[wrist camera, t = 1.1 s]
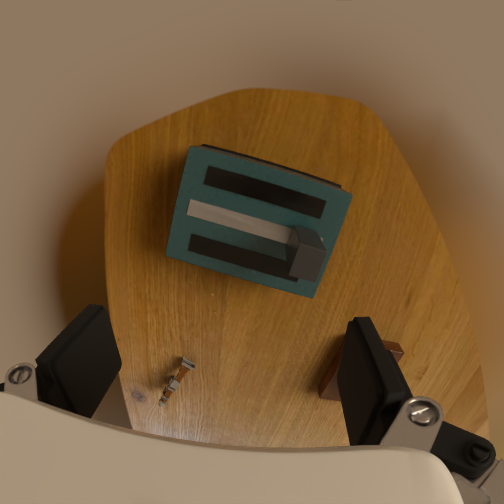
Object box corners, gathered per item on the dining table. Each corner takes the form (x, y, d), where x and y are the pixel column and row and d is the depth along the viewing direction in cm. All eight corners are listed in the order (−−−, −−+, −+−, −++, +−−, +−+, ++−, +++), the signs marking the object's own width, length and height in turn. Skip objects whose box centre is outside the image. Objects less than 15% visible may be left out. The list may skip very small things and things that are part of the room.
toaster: (203, 143, 28) (187, 142, 23) (340, 184, 29) (356, 193, 23) (180, 238, 32) (162, 257, 26) (307, 275, 32) (314, 302, 27)
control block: (348, 332, 35) (355, 352, 31) (398, 343, 35) (408, 361, 31) (317, 387, 38) (320, 407, 34) (365, 394, 38) (371, 413, 35)
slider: (294, 224, 24) (299, 243, 19) (317, 231, 24) (327, 251, 19) (285, 250, 25) (287, 275, 20) (307, 257, 25) (315, 283, 20)
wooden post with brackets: (157, 391, 39) (153, 405, 35) (183, 351, 40) (182, 362, 36) (167, 397, 39) (165, 411, 35) (194, 357, 40) (194, 369, 36)
